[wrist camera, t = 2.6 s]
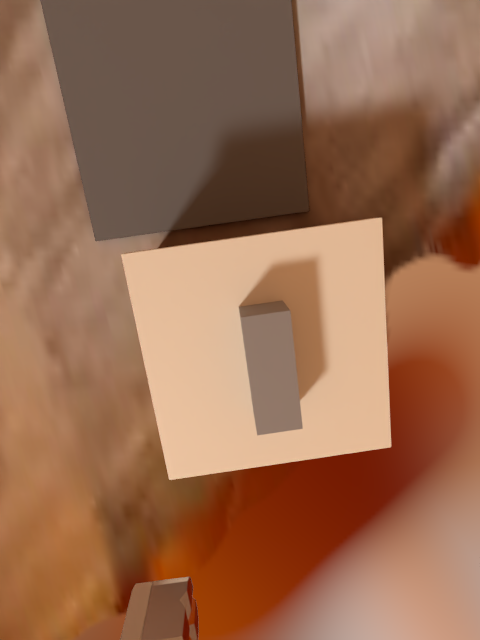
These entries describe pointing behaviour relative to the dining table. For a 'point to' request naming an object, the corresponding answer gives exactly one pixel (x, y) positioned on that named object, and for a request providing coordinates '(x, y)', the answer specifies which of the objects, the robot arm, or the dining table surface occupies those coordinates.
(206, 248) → the lid panel
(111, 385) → the dining table surface
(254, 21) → the mat
